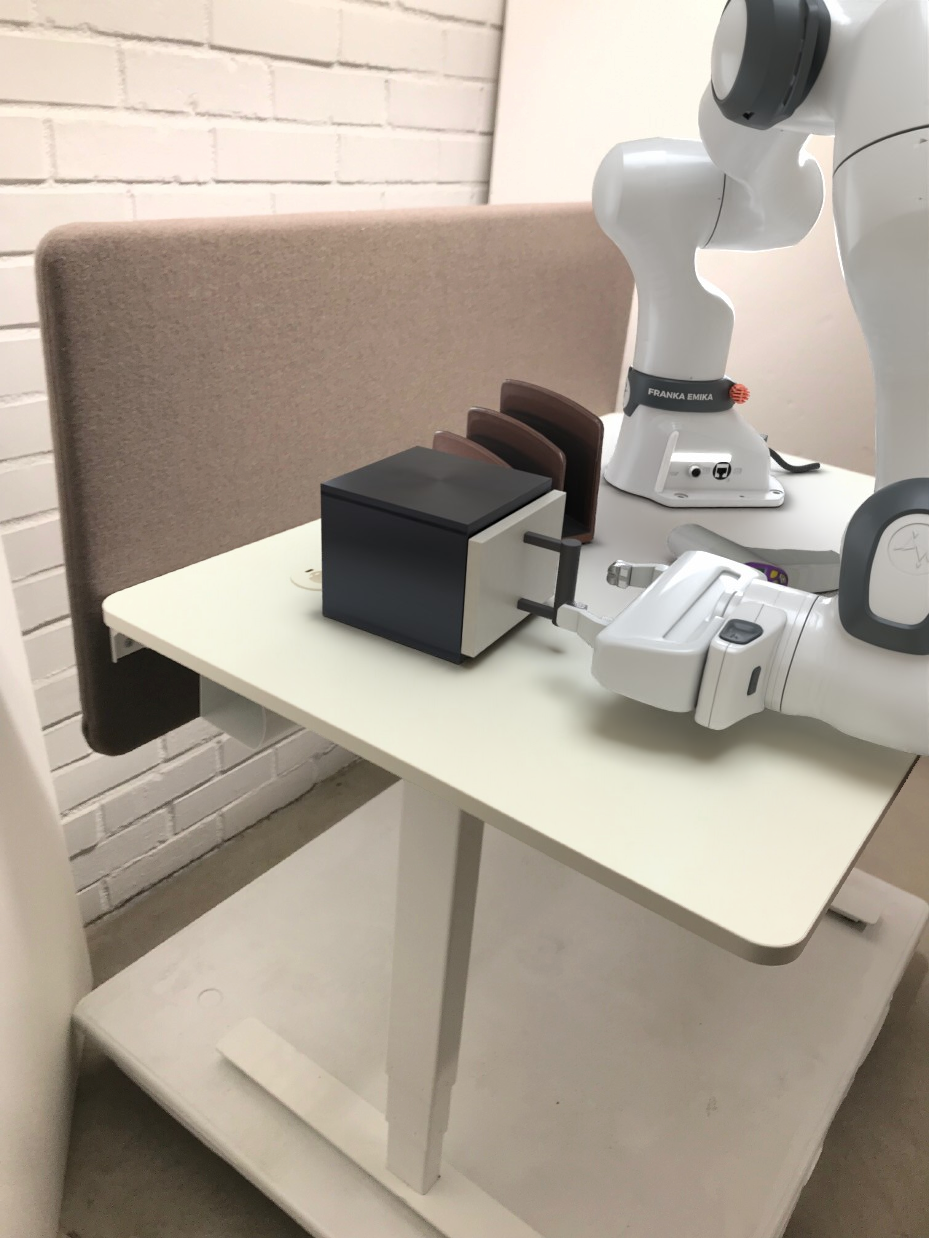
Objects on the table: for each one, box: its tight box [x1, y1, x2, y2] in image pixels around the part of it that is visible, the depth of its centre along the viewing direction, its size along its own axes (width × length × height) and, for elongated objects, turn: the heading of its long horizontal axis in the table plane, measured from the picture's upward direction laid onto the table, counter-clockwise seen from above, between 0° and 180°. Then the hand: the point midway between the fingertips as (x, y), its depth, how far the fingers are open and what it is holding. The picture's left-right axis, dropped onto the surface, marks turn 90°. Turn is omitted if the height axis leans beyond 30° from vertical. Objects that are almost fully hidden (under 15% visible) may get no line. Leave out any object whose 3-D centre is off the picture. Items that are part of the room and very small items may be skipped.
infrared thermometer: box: [666, 523, 841, 593], centre depth 91 cm, size 5×12×15 cm
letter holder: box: [431, 378, 605, 544], centre depth 99 cm, size 10×20×14 cm, turn 29°
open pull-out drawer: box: [461, 490, 582, 658], centre depth 76 cm, size 19×14×10 cm
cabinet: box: [319, 445, 552, 665], centre depth 78 cm, size 14×14×12 cm
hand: (586, 590), depth 72 cm, fingers open, 8 cm apart
